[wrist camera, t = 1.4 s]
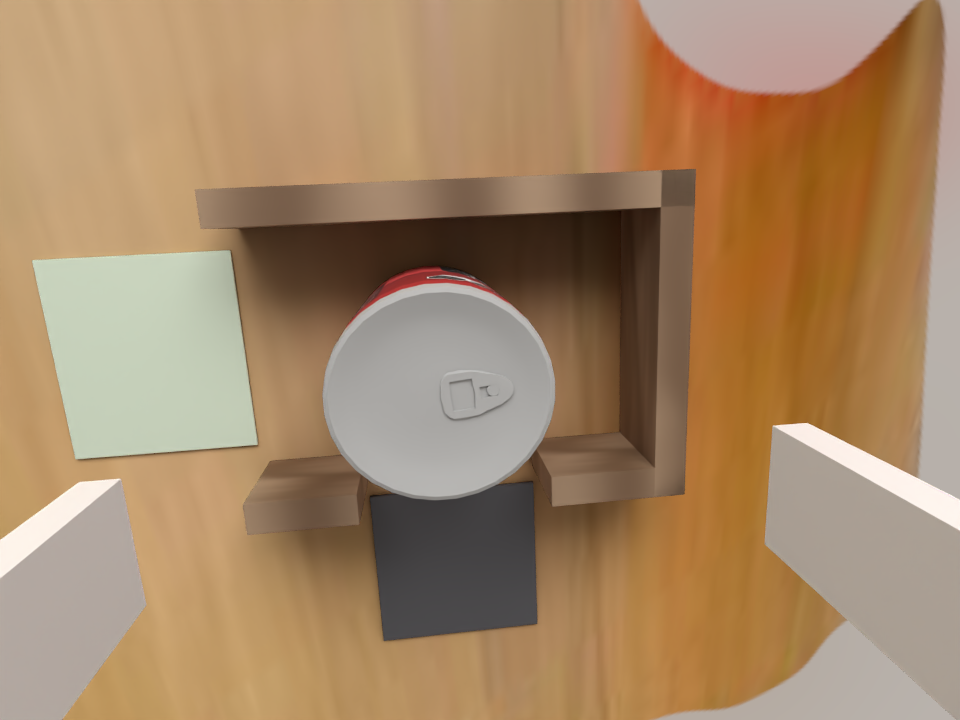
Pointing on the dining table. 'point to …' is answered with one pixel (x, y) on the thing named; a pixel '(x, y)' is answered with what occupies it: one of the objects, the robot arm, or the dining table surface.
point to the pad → (148, 352)
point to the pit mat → (455, 561)
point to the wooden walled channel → (643, 327)
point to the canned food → (438, 386)
